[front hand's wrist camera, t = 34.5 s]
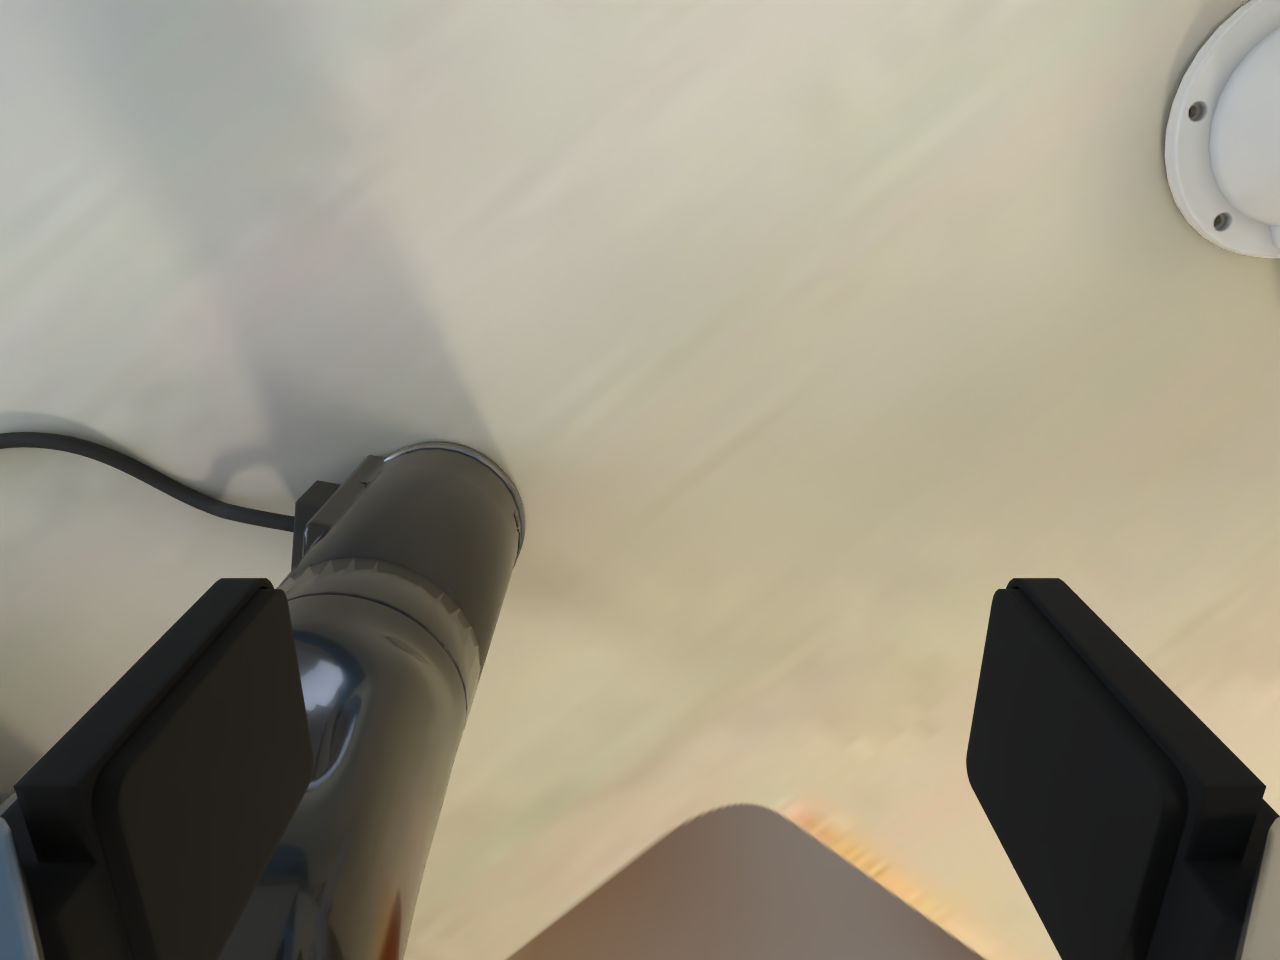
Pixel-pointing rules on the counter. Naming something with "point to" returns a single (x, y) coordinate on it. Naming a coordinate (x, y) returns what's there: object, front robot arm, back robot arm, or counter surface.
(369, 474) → the back robot arm
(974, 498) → the counter surface
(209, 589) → the front robot arm
